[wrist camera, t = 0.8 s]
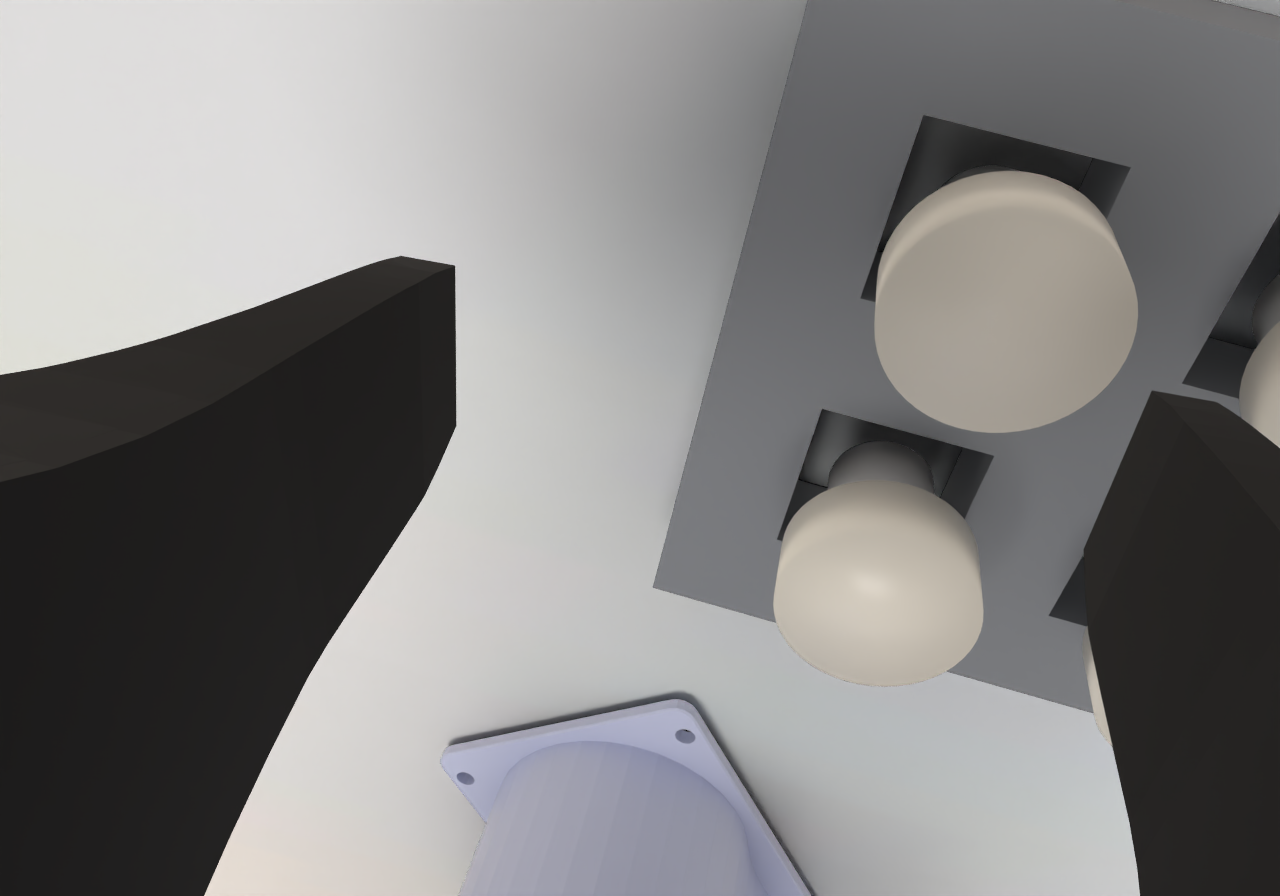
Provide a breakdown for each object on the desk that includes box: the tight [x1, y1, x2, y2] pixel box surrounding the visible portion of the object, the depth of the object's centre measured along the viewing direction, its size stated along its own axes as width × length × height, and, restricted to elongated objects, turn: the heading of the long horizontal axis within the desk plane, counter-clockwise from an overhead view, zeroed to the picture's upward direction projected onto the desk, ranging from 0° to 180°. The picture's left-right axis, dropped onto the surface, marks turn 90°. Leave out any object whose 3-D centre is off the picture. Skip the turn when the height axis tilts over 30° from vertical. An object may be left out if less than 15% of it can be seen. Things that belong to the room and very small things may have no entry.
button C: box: [874, 165, 1138, 433], centre depth 16 cm, size 3×3×4 cm
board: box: [653, 0, 1280, 713], centre depth 19 cm, size 13×13×2 cm
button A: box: [773, 441, 984, 687], centre depth 19 cm, size 3×3×4 cm
